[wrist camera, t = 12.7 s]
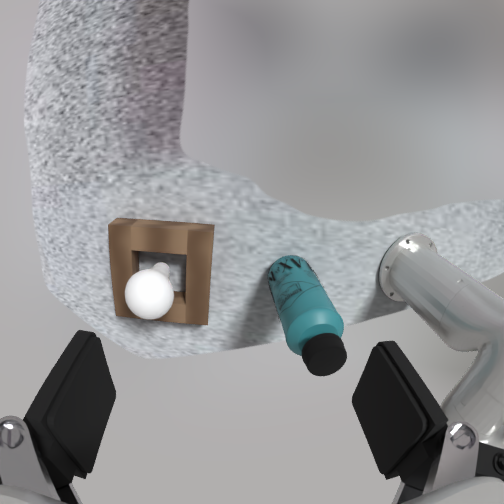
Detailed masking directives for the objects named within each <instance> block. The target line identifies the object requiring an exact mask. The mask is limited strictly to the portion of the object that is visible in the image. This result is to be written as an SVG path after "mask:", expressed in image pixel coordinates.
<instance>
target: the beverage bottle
mask: <svg viewBox="0 0 504 504" xmlns="http://www.w3.org/2000/svg"><path fill="white" fill-rule="evenodd" d="M311 268H312V267H310V266H309V264H308V263H307V262H306V260H304V258H303V259H302V257H301V258H300V257H299V256H293V255H290V256H284V257H282V258H280V259H278V260H277V261H276V262H275V263H274V264H273V265H272V266H271V268H270V271H269V272H268V273H269V275H268V279H269V281H268V283H269V284H270V285H269V288H270V287H271V289H270V290H271V291H270V292H271V295H272V296H273V300H274V302H275V304H276V309H277V311H278V315H279V318H280V320H281V323H282V326H283V330H284V333H285V337H286V342H287V345H288V347H289V348H290V350H292V351H293V352H294V353H296V354H298V355H300V356H302V359H303V361H304V363H305V364H306V366H307V369H308V370H309V371H310V373H312V374H313V375H316V376H327V375H330V374H333V373H335V372H336V371H338V370H339V369H340V368H341V367H342V366H343V365H344V363H345V362H346V359H347V353H346V350H345V348H344V344H343V342H342V340H341V336H342V334H343V330H344V323H343V320H342V318H341V316H340V315H339V314H338V312H337V311H336V309H335V307H334V306H333V304H332V302H331V301H330V299H329V297H328V296H327V294H326V292H325V290H324V289H323V286H322V285H321V284H322V283H321V282H319V280H318V279H317V277H316V276H317V275H316V274H314V273H315V272H314V273H313V271H314V270H312V269H311ZM320 283H321V284H320ZM279 322H280V321H279Z"/></svg>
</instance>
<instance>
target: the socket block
mask: <svg viewBox="0 0 504 504" xmlns="http://www.w3.org/2000/svg"><path fill="white" fill-rule="evenodd" d="M108 232H109V252H110V265H111V277H112V287H113V296H114V304H115V311H116V316H122V317H130V318H138V319H143V318H140V317H138V316H137V315H135V314H134V313H133V312H132V311H131V310H130V308H129V307H128V305H127V303H126V300H125V288H126V284H127V282H128V280H129V279H130V278H131V276H133V275H134V274H135V273H137V272H139V251H147V252H159V253H172V254H184V255H187V261H186V292H177V291H174V300H173V303H172V306H171V308H170V309H169V311H168V312H167V313H166V314H165V315H163V316H162V317H160V318H157V319H146V320H155V321H165V322H175V323H186V324H199V325H208V313H209V295H210V279H211V264H212V250H213V238H214V225H212V224H199V223H186V222H172V221H158V220H143V219H127V218H116V219H115V220H114V221H113V222H111V223H110V224H109V225H108Z"/></svg>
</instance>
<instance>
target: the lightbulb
mask: <svg viewBox="0 0 504 504" xmlns="http://www.w3.org/2000/svg"><path fill="white" fill-rule="evenodd" d="M169 274H170V268H169V266H168V265H167V264H166V263H163V262H158V263H156V264H155V265H154V266H153V267H152V268H150V269H145V270H141V271H139V272H137V273H135V274H134V275H133V276H131V278H130V279H129V280H128V282H127V284H126V288H125V300H126V303H127V305H128V307H129V308H130V310H131V311H132V312H133V313H134V314H135V315H137V316H138V317H140V318H143V319H157V318H160V317H162V316H163V315H165V314H166V313H167V312H168V311H169V309H170V308H171V306H172V303H173V300H174V291H173V287H172V284H171V282H170V281H169Z"/></svg>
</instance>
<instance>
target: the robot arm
mask: <svg viewBox="0 0 504 504" xmlns="http://www.w3.org/2000/svg"><path fill="white" fill-rule="evenodd" d="M379 282H380V286H381V288H382V291H383V292H384V293H385V294H386V295H387V296H388V297H389V298H390V299H392V300H394V301H405V302H406V303H407V304H408V305H409V306H410V307H411V308H412V309H413V310H414V311H415V312H416V313H417V314H418V315H419V316H420V317H421V318H422V319H423V320H424V321H425V322H426V323H427V325H429V327H430V328H431V329H432V330H433V331H434V332H435V333H436V334H437V335H438V336H439V337H440V338H441V339H442V341H443V342H444V343H445V344H446V345H447V346H448V347H450V348H452V349H454V350H456V351H461V352H469V351H478V354H477V356H476V358H475V359H474V361H473V362H472V364H471V366H470V367H469V369H468V370H467V371H466V373H465V374H464V375H463V376H462V378H461V379H460V380H459V382H458V383H457V384H456V385H455V387H454V388H453V389H452V391H450V393H449V394H448V395H447V397H446V398H445V399H444V401H443V402H442V404H441V406H439V404H438V403H437V401H436V400H435V398H434V397H433V395H432V394H431V392H430V391H429V389H428V388H427V386H426V385H425V383H424V382H423V380H422V379H421V377H420V376H419V374H418V373H417V372H416V370H415V369H414V367H413V366H412V364H411V363H410V362H409V360H408V359H407V357H406V356H405V355H404V353H403V352H402V350H401V349H400V348H399V346H398V345H397V343H396V342H395V341H384V342H379V343H378V344H377V345H376V346H375V347H373V349H372V351H371V354H370V356H369V359H368V361H367V364H366V366H365V369H364V371H363V374H362V376H361V378H360V381H359V383H358V385H357V387H356V389H355V392H354V394H353V396H352V404H353V407H354V409H355V412H356V414H357V417H358V419H359V422H360V424H361V427H362V429H363V431H364V434H365V436H366V439H367V441H368V444H369V446H370V449H371V451H372V454H373V456H374V459H375V462H376V464H377V466H378V469H379V471H380V473H381V474H384V475H385V478H386V480H387V479H390V478H393V477H397V476H400V478H401V480H402V481H401V483H400V486H399V488H398V490H397V493H396V495H395V498H394V500H393V502H392V504H504V299H503V298H501V297H500V296H498V295H497V294H496V293H494V292H493V291H491V290H490V289H488V288H487V287H486V286H484V285H483V284H482V283H480V282H479V281H477V280H476V279H475V278H473V277H472V276H470V275H469V274H467V273H466V272H465V271H463V270H462V269H460V268H459V267H457V266H456V265H454V264H453V263H451V262H450V261H448V260H447V259H445V258H444V257H442V256H441V255H439V254H438V252H437V248H436V246H435V244H434V242H433V241H432V240H431V239H430V238H429V237H427V236H426V235H423V234H421V233H410V234H407V235H405V236H403V237H401V238H400V239H398V240H397V241H396V242H395V243H394V244H393V245H392V246H391V247H390V248H389V250H388V251H387V253H386V254H385V256H384V258H383V260H382V263H381V267H380V272H379ZM115 399H116V390H115V387H114V384H113V381H112V378H111V375H110V372H109V368H108V365H107V362H106V358H105V355H104V351H103V347H102V344H101V340H100V338H98V337H96V334H95V333H94V332H88V331H83V330H79V331H77V332H76V334H75V335H74V337H73V338H72V340H71V341H70V343H69V344H68V346H67V347H66V349H65V350H64V352H63V353H62V355H61V356H60V358H59V359H58V361H57V363H56V364H55V366H54V367H53V369H52V370H51V372H50V374H49V375H48V377H47V378H46V380H45V382H44V383H43V385H42V387H41V388H40V390H39V392H38V394H37V395H36V397H35V399H34V401H33V403H32V404H31V406H30V408H29V410H28V411H27V413H26V415H25V417H24V419H23V420H22V419H20V418H18V417H16V416H6V417H3V418H1V419H0V504H82V502H81V500H80V498H79V497H78V495H77V493H76V491H75V489H74V487H73V485H72V480H73V477H74V475H75V476H78V477H81V478H84V479H86V476H87V473H91V472H92V469H93V466H94V463H95V460H96V456H97V453H98V449H99V446H100V443H101V440H102V437H103V434H104V431H105V428H106V425H107V422H108V419H109V416H110V413H111V410H112V407H113V404H114V402H115Z"/></svg>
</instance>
